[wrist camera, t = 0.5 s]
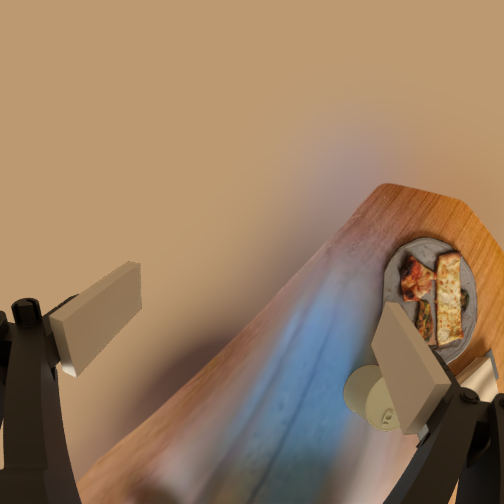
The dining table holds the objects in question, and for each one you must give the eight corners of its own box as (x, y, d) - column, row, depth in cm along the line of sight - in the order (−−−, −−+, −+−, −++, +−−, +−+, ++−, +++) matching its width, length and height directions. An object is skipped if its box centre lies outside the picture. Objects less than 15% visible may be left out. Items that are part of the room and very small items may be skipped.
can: (334, 406, 43) (355, 425, 31) (355, 358, 45) (382, 363, 34) (378, 418, 42) (407, 436, 30) (397, 372, 44) (431, 378, 32)
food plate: (380, 232, 51) (387, 226, 48) (468, 247, 50) (477, 243, 46) (371, 367, 45) (379, 369, 42) (466, 363, 44) (476, 364, 40)
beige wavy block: (486, 395, 40) (499, 397, 35) (442, 434, 39) (453, 440, 34) (476, 357, 43) (489, 357, 38) (430, 396, 41) (442, 399, 37)
